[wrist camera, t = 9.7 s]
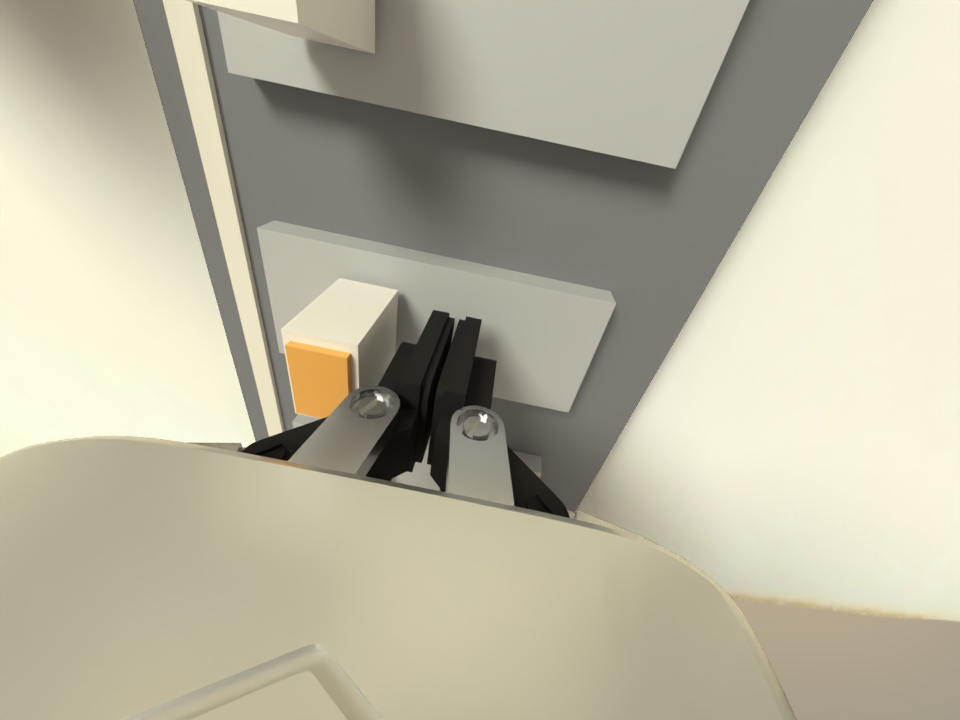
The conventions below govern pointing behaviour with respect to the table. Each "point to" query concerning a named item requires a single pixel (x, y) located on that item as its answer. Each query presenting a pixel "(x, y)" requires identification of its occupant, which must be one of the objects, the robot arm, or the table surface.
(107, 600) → the robot arm
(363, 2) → the block
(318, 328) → the block
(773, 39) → the breaker panel
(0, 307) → the table surface
